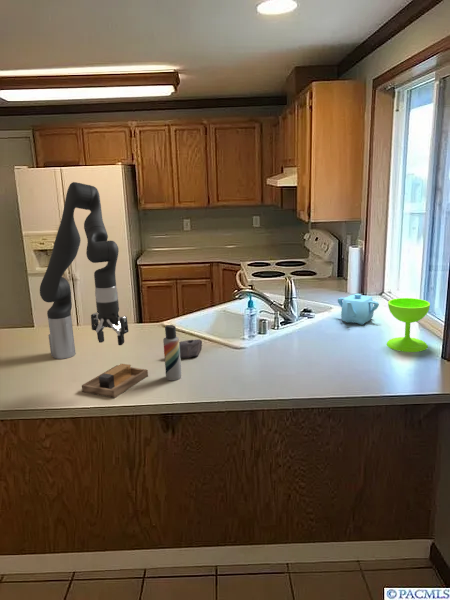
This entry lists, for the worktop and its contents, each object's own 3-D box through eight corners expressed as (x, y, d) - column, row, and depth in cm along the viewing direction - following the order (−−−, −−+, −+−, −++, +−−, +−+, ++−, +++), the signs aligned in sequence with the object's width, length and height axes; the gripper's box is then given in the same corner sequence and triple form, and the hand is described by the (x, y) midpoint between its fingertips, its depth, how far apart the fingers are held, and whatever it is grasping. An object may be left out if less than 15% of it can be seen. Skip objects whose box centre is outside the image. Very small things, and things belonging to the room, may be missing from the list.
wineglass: (384, 338, 219) (386, 297, 214) (424, 339, 215) (426, 298, 211) (388, 351, 204) (390, 307, 199) (431, 352, 200) (433, 308, 196)
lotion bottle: (166, 375, 190) (162, 323, 185) (181, 374, 190) (178, 322, 185) (165, 381, 184) (161, 328, 179) (181, 380, 185) (178, 327, 180)
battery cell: (100, 388, 179) (98, 376, 178) (123, 374, 191) (122, 362, 190) (109, 390, 177) (108, 378, 176) (132, 375, 189) (131, 364, 188)
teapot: (335, 317, 252) (335, 291, 249) (368, 315, 253) (369, 289, 250) (346, 328, 235) (346, 300, 231) (381, 326, 235) (382, 298, 232)
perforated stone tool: (166, 361, 204) (164, 344, 203) (166, 356, 210) (164, 340, 208) (203, 358, 206) (202, 341, 204) (202, 353, 211) (201, 337, 209)
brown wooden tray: (82, 391, 178) (81, 385, 178) (117, 371, 196) (116, 365, 195) (114, 397, 172) (114, 391, 172) (148, 376, 190) (147, 369, 189)
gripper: (130, 298, 176) (134, 342, 180) (97, 294, 182) (102, 337, 186) (116, 303, 170) (121, 349, 174) (83, 299, 176) (88, 344, 180)
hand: (111, 343), depth 180 cm, fingers open, 8 cm apart
